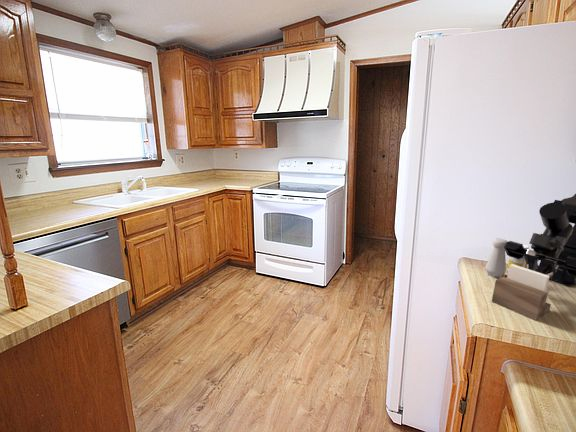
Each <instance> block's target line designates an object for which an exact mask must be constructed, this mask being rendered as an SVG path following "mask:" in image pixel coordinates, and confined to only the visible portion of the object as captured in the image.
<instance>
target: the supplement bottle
mask: <svg viewBox="0 0 576 432" xmlns="http://www.w3.org/2000/svg"><path fill="white" fill-rule="evenodd" d="M522 244H523V247H524V249H526V250H528V249H529V245H527V244H524V243H522ZM529 250H530V249H529ZM507 263H508V264H507V266H506V267H507V268H506V270H507V272H508V271H509V266H510V265H511V264H514V265H517V266H520V267H523V268H526V269H528V264H527V263H526V261H525V258H524V257H523V258H521V259H516V258H513V257H510V256H509V258H508V262H507Z"/></svg>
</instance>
